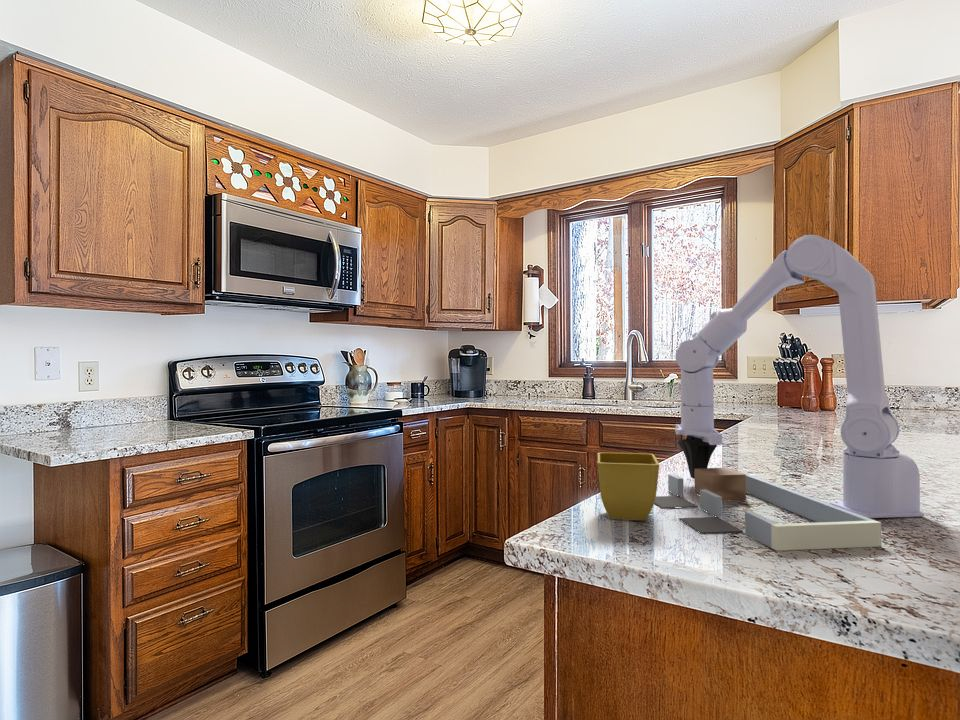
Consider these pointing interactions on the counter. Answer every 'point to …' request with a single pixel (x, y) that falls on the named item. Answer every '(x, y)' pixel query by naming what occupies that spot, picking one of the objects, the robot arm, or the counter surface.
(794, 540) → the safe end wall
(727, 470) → the walnut block
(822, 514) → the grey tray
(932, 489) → the counter surface
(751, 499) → the counter surface
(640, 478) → the flower pot
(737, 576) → the counter surface
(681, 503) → the mat
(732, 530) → the mat
